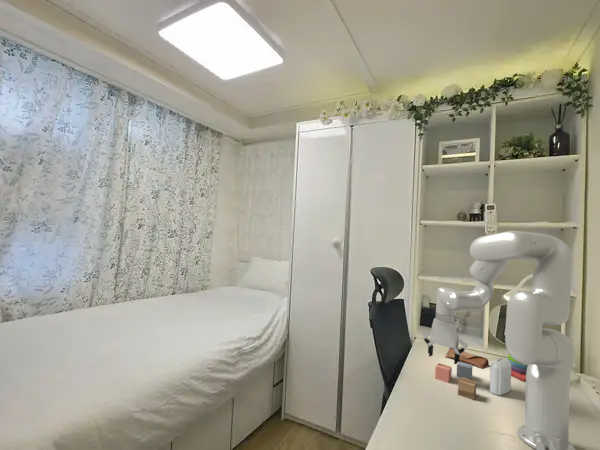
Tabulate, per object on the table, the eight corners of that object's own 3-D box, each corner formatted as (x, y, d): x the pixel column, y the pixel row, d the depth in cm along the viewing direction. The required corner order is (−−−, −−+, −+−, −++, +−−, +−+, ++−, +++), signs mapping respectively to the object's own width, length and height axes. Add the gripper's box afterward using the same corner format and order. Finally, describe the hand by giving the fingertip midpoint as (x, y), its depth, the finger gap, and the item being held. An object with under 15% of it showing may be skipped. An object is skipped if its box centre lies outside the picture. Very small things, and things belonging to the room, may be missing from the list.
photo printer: (499, 386, 117) (500, 354, 118) (512, 391, 114) (513, 358, 115) (487, 391, 112) (488, 358, 113) (500, 397, 108) (501, 362, 109)
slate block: (469, 380, 121) (470, 368, 121) (456, 376, 124) (456, 364, 124) (472, 377, 125) (472, 365, 125) (458, 373, 128) (459, 361, 128)
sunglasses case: (443, 356, 146) (446, 343, 149) (446, 361, 150) (449, 348, 153) (484, 369, 134) (486, 355, 136) (487, 374, 138) (489, 360, 141)
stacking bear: (499, 372, 133) (501, 332, 134) (513, 369, 137) (514, 331, 138) (526, 383, 123) (527, 339, 124) (540, 380, 127) (541, 338, 128)
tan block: (473, 400, 104) (474, 386, 105) (457, 395, 107) (458, 381, 108) (475, 395, 108) (476, 381, 108) (460, 390, 111) (461, 376, 112)
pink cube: (448, 383, 117) (448, 370, 117) (434, 378, 120) (435, 366, 120) (451, 379, 121) (451, 367, 121) (438, 375, 124) (438, 363, 124)
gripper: (470, 321, 119) (468, 363, 119) (426, 311, 130) (424, 350, 130) (467, 324, 114) (464, 369, 113) (421, 314, 125) (418, 355, 124)
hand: (443, 359), depth 121 cm, fingers open, 9 cm apart
